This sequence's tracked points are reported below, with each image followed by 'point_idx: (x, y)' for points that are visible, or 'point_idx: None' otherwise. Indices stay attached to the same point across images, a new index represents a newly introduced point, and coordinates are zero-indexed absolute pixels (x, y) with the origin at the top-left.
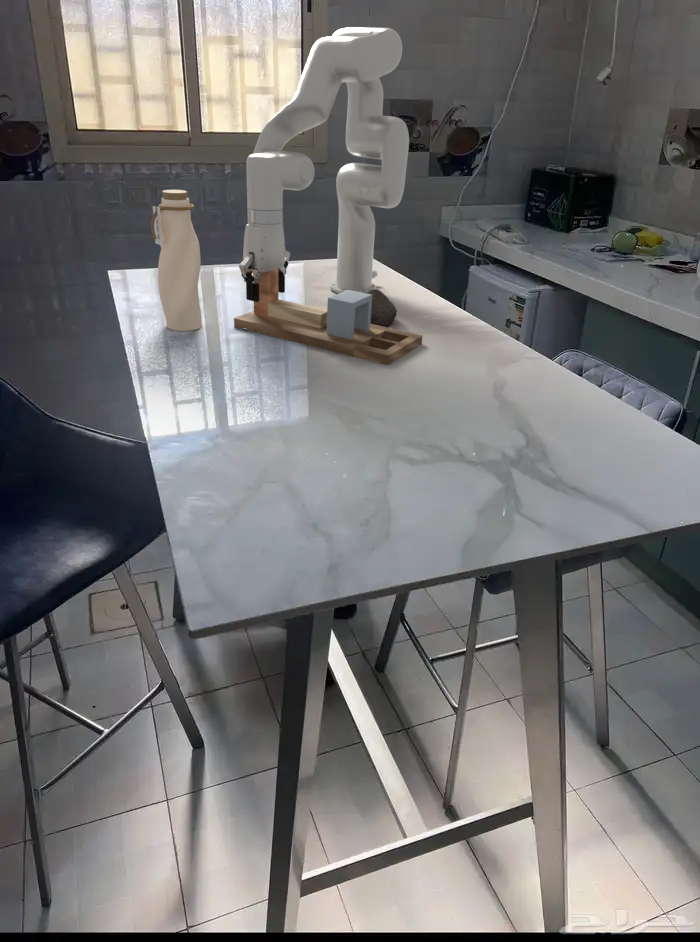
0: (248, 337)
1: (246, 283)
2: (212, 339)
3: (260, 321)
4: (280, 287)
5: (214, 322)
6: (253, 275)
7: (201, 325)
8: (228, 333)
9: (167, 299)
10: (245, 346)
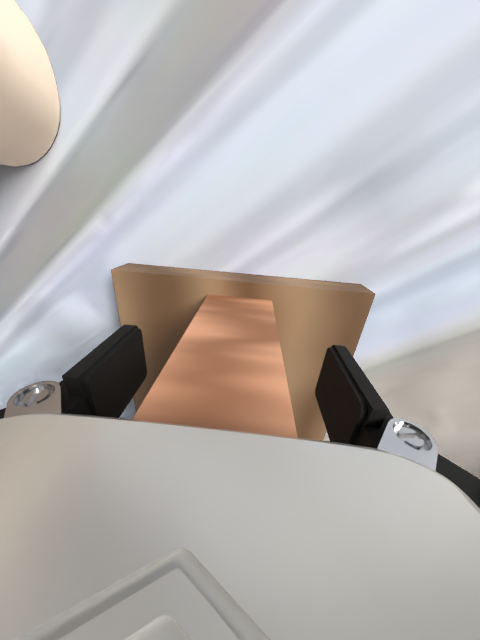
0: (96, 342)
1: (72, 371)
2: (5, 275)
3: (149, 354)
4: (322, 399)
5: (111, 168)
6: (147, 395)
7: (35, 158)
8: (74, 283)
9: None
10: (49, 365)
